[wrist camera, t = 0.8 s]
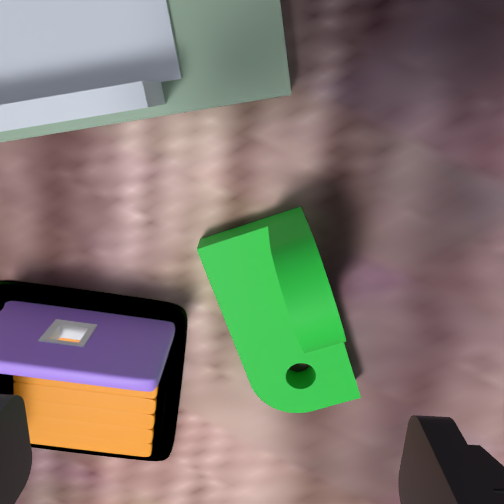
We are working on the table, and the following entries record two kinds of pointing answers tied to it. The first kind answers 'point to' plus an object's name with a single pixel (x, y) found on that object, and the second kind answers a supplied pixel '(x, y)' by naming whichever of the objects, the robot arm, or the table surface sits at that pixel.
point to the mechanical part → (281, 312)
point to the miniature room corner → (93, 368)
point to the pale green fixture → (133, 60)
